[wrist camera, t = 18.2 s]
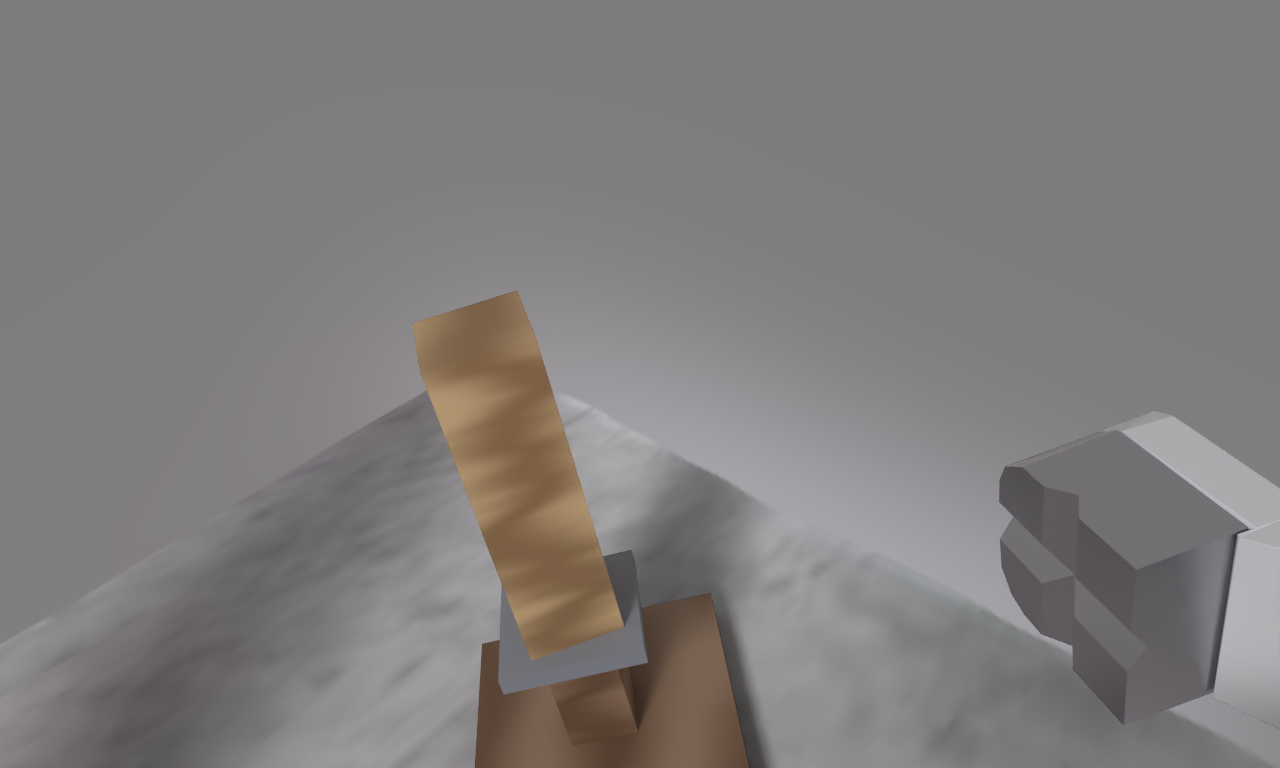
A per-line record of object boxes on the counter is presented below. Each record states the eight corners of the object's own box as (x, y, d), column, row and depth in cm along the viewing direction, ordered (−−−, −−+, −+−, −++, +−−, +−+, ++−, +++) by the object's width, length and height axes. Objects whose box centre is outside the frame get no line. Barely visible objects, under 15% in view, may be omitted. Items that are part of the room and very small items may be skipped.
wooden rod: (531, 660, 40) (420, 373, 33) (515, 596, 44) (412, 323, 36) (624, 627, 41) (535, 336, 33) (602, 566, 44) (516, 290, 37)
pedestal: (479, 880, 41) (418, 759, 37) (490, 663, 52) (443, 550, 47) (761, 820, 41) (730, 691, 37) (715, 613, 51) (687, 494, 47)
